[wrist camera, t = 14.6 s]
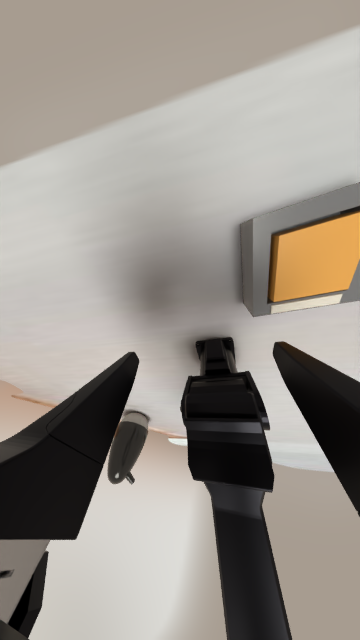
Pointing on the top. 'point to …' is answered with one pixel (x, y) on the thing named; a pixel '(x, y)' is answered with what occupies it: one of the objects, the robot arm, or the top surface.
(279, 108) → the top surface
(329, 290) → the button
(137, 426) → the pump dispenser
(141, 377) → the top surface
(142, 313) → the top surface
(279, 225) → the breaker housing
